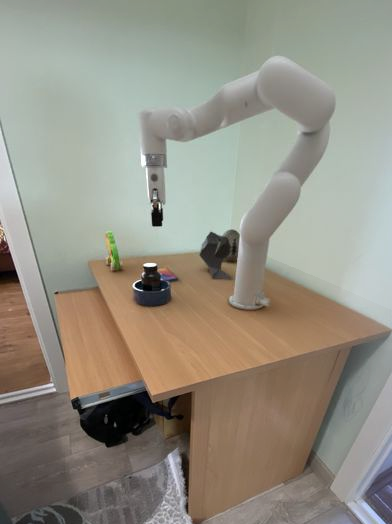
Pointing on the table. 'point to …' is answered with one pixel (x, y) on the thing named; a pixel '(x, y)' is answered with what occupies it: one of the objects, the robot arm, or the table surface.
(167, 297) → the bowl
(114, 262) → the green toy figure
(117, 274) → the table surface
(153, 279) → the supplement bottle
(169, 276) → the smartphone
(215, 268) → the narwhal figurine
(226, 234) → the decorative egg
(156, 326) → the table surface
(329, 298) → the table surface
